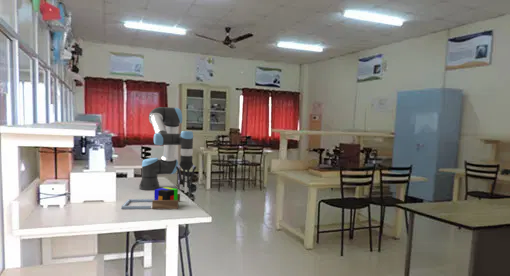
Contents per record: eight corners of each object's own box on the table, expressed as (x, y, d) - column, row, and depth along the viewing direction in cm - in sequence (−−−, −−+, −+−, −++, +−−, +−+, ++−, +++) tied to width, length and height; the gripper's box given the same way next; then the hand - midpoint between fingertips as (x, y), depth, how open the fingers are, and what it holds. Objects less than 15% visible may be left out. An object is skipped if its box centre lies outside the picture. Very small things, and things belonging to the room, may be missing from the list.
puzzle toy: (154, 205, 202) (154, 189, 202) (165, 202, 211) (165, 187, 210) (166, 207, 197) (166, 191, 197) (177, 204, 206) (177, 189, 206)
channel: (156, 201, 212) (156, 193, 212) (179, 201, 215) (180, 193, 214) (152, 208, 194) (152, 200, 194) (177, 208, 196) (177, 200, 196)
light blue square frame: (128, 201, 209) (128, 199, 209) (154, 201, 212) (154, 199, 212) (121, 208, 191) (121, 206, 191) (150, 208, 194) (150, 206, 194)
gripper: (175, 155, 200) (174, 193, 201) (196, 156, 202) (196, 193, 203) (176, 154, 207) (175, 191, 208) (197, 154, 209) (196, 191, 210)
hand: (185, 192), depth 205 cm, fingers closed
